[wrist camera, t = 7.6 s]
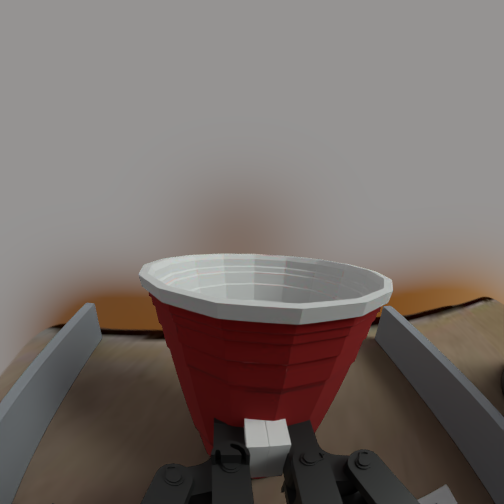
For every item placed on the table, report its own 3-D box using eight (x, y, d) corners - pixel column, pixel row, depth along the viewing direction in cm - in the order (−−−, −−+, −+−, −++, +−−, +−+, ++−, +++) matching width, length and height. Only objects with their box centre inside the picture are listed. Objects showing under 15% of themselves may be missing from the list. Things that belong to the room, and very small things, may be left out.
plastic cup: (311, 389, 20) (335, 244, 18) (359, 492, 9) (451, 299, 7) (176, 390, 19) (168, 237, 16) (156, 506, 8) (86, 298, 6)
